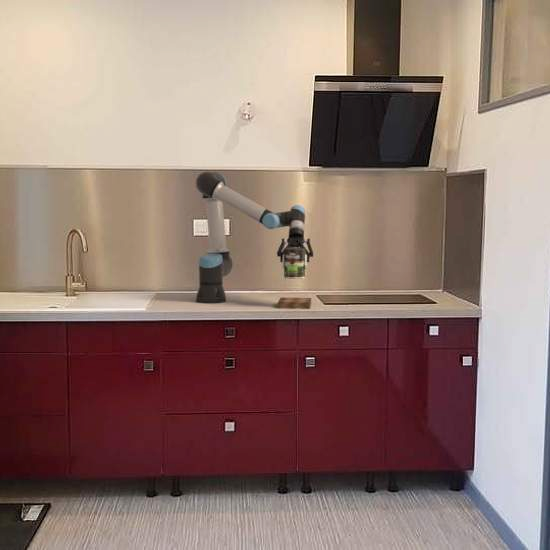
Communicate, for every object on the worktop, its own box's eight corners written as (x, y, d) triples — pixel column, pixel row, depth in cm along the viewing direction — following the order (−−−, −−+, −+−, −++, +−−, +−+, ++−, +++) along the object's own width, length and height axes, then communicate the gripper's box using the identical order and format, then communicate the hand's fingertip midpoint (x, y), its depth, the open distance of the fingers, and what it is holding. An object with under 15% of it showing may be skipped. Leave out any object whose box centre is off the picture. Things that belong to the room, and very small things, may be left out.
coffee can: (302, 279, 338) (302, 249, 336) (281, 278, 341) (281, 248, 339) (307, 276, 348) (307, 247, 346) (287, 276, 351) (287, 247, 349)
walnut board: (277, 308, 340) (277, 301, 339) (280, 303, 354) (280, 297, 354) (309, 308, 338) (309, 302, 338) (311, 303, 353) (311, 297, 353)
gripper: (319, 236, 357) (318, 271, 343) (274, 236, 359) (271, 271, 345) (319, 226, 351) (318, 261, 337) (273, 226, 353) (269, 261, 339)
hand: (294, 266), depth 341 cm, fingers closed on coffee can, 10 cm apart
